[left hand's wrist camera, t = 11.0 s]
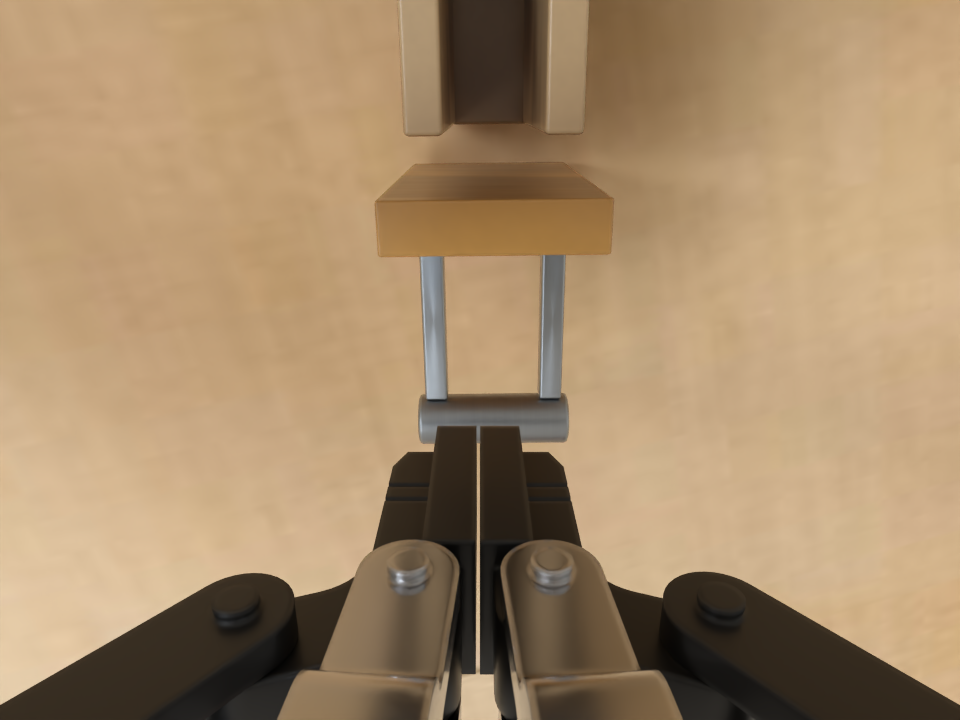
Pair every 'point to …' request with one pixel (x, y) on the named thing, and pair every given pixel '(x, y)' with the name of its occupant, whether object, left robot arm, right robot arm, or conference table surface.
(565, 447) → the conference table surface
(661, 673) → the left robot arm
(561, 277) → the drawer
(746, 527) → the conference table surface
